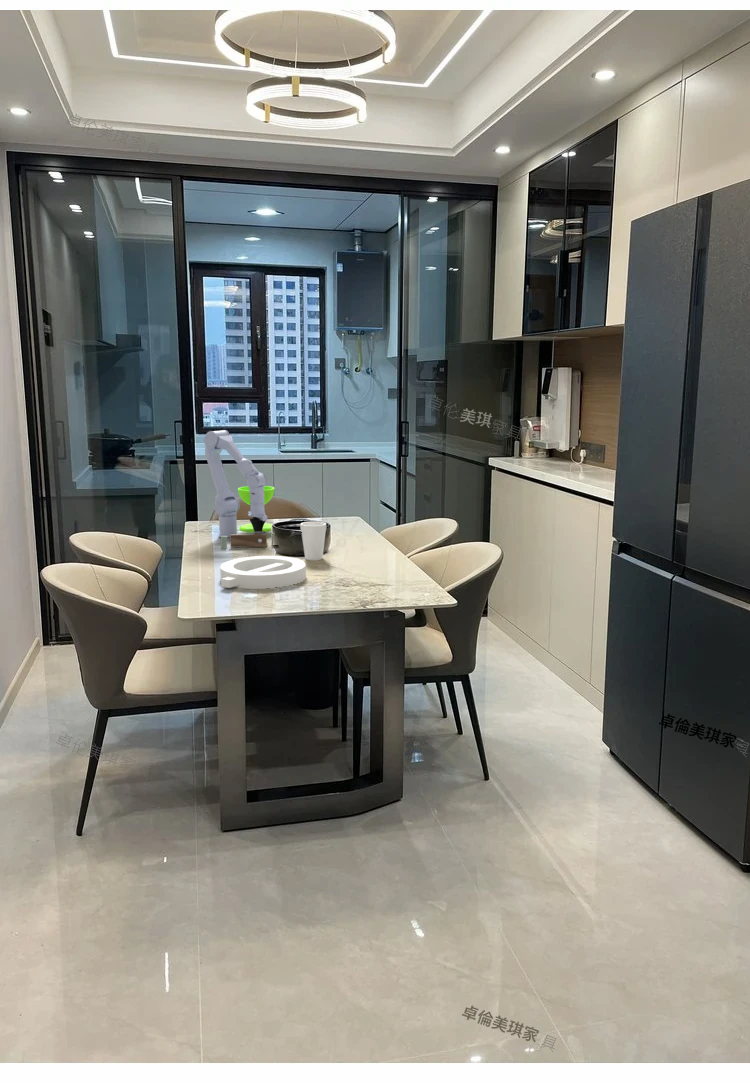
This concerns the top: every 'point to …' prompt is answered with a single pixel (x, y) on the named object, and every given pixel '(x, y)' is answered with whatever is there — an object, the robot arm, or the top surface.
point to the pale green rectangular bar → (224, 541)
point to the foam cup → (313, 539)
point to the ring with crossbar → (262, 572)
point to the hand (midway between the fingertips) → (258, 535)
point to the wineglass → (245, 497)
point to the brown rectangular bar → (248, 540)
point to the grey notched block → (259, 532)
